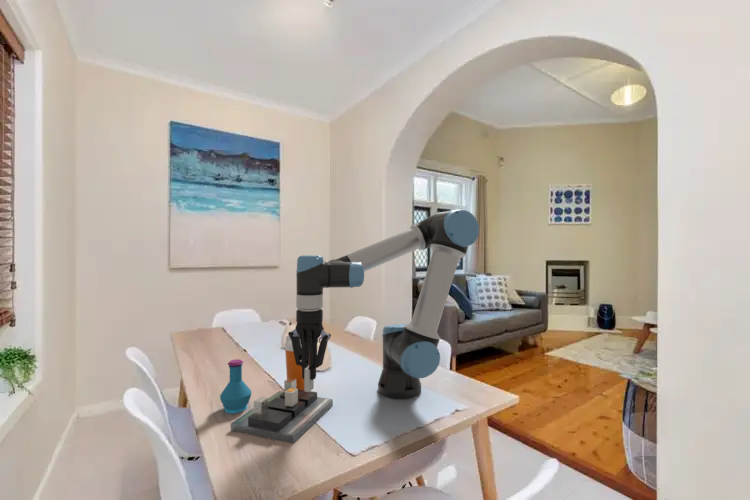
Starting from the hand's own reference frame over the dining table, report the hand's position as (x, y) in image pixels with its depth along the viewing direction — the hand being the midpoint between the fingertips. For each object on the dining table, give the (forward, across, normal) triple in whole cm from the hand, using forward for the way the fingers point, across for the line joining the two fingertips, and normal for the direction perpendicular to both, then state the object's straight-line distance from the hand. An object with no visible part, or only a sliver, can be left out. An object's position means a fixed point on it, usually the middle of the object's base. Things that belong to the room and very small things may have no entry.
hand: (308, 389), depth 104 cm
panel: (+10, +8, 0) cm, 12 cm away
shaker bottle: (+10, +14, -17) cm, 24 cm away
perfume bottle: (+10, +26, 0) cm, 28 cm away
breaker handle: (+5, +6, 0) cm, 8 cm away
